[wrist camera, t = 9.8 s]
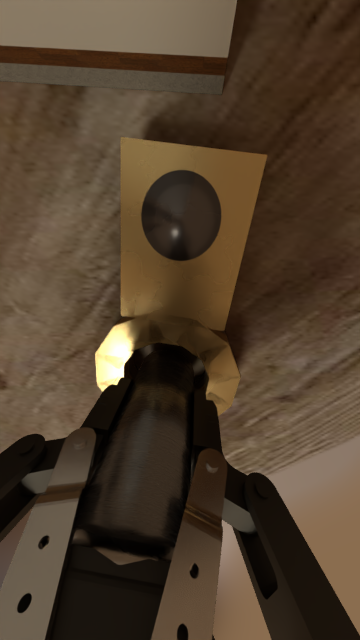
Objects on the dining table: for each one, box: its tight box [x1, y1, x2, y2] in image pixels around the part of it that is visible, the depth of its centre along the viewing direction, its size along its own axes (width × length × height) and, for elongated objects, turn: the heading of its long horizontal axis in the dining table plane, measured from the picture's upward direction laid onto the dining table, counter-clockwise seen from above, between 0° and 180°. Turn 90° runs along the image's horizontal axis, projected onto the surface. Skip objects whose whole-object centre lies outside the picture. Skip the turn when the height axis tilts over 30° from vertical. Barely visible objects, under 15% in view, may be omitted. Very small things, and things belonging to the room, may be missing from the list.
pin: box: [72, 350, 194, 565], centre depth 10 cm, size 4×4×9 cm
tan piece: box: [95, 137, 267, 416], centre depth 14 cm, size 10×26×4 cm, turn 173°
